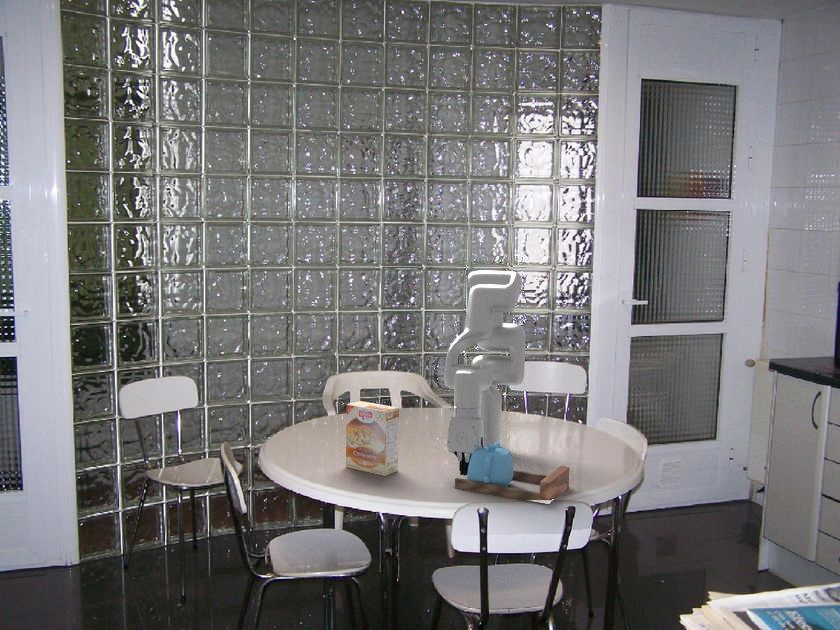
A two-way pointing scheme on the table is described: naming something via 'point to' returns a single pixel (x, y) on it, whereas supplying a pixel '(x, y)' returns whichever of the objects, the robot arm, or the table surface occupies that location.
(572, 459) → the table surface
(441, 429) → the table surface
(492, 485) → the guide track
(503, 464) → the teapot
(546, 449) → the table surface
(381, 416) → the coffeecake box
